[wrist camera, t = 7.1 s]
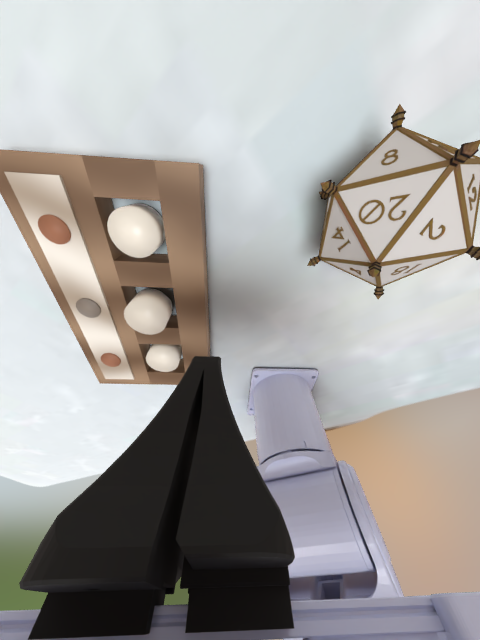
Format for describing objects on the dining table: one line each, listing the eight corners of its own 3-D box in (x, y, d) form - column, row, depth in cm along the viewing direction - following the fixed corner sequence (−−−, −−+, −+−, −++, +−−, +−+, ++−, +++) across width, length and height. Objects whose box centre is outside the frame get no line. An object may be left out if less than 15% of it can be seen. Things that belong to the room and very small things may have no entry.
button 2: (184, 358, 23) (180, 372, 21) (155, 357, 23) (149, 371, 21) (181, 336, 21) (176, 349, 20) (149, 335, 21) (142, 348, 19)
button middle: (174, 321, 19) (169, 335, 17) (139, 320, 19) (129, 334, 17) (170, 289, 17) (163, 301, 15) (130, 287, 17) (118, 300, 15)
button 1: (169, 250, 16) (161, 259, 15) (127, 248, 16) (115, 256, 14) (162, 204, 14) (153, 208, 13) (115, 201, 14) (100, 205, 13)
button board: (210, 371, 25) (208, 387, 23) (108, 369, 24) (98, 385, 22) (203, 165, 13) (197, 163, 11) (9, 151, 13) (-30, 147, 11)
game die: (319, 225, 19) (280, 305, 15) (344, 93, 12) (284, 170, 8) (437, 241, 16) (431, 350, 12) (562, 73, 9) (671, 186, 5)
